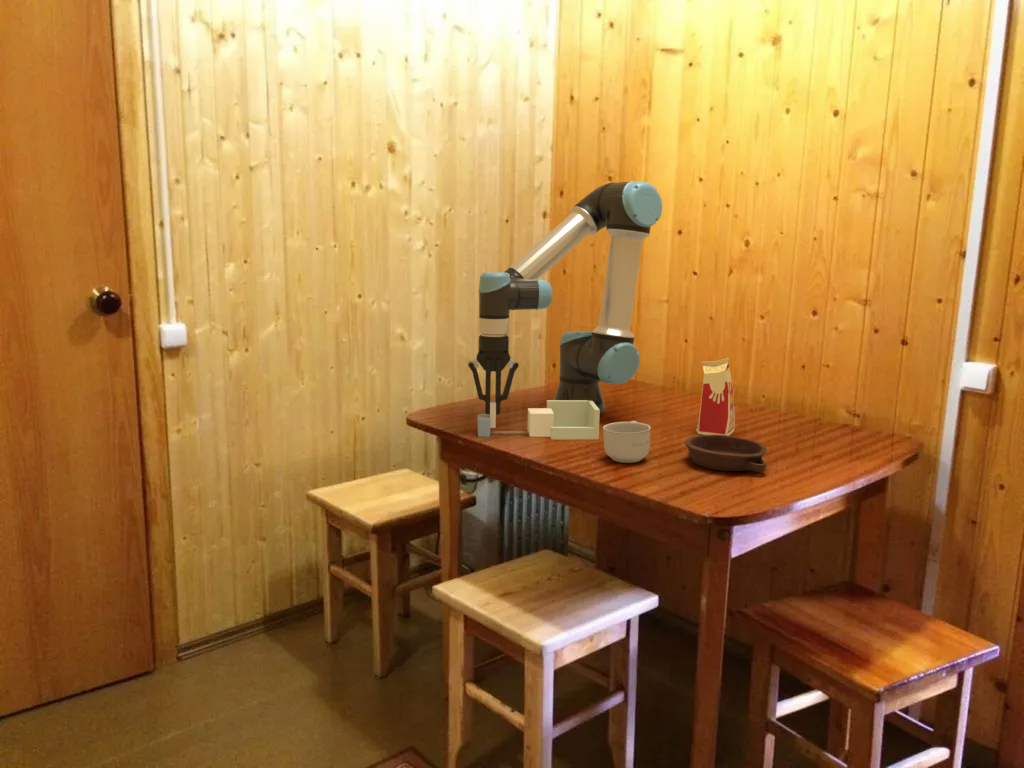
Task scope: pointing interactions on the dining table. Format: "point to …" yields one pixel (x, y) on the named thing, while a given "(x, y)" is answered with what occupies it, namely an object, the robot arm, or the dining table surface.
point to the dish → (726, 453)
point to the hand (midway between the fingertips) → (492, 426)
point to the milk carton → (716, 400)
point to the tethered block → (537, 424)
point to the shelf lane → (574, 420)
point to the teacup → (627, 441)
